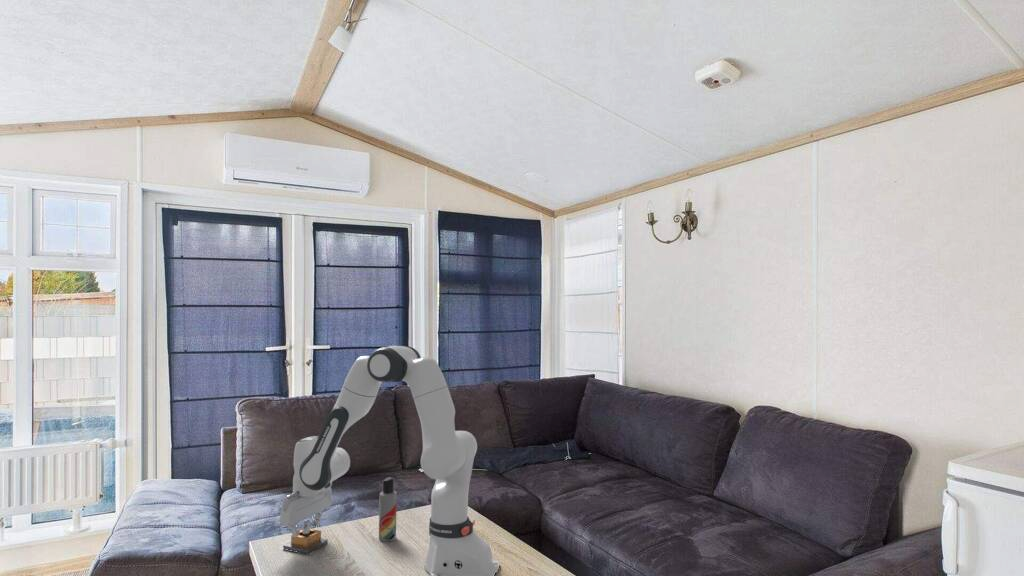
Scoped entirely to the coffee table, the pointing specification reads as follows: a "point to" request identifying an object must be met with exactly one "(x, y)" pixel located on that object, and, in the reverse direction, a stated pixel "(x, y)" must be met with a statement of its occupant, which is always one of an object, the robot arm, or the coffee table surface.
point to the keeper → (306, 533)
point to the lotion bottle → (387, 511)
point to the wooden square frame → (306, 539)
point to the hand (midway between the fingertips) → (306, 530)
